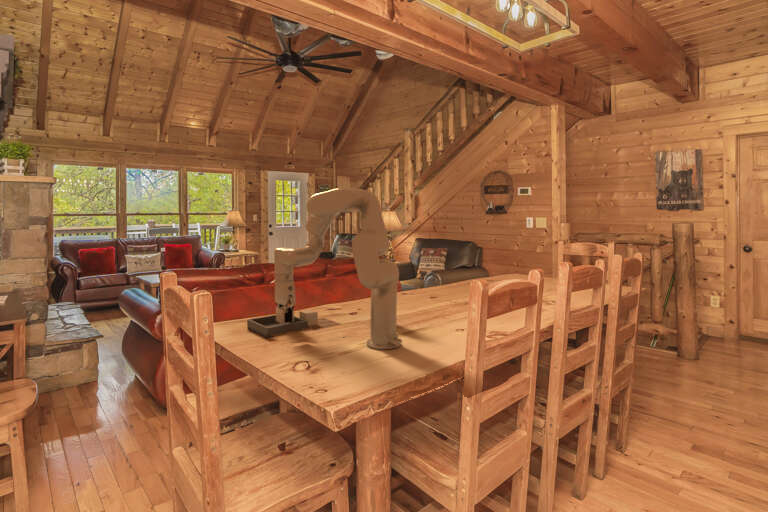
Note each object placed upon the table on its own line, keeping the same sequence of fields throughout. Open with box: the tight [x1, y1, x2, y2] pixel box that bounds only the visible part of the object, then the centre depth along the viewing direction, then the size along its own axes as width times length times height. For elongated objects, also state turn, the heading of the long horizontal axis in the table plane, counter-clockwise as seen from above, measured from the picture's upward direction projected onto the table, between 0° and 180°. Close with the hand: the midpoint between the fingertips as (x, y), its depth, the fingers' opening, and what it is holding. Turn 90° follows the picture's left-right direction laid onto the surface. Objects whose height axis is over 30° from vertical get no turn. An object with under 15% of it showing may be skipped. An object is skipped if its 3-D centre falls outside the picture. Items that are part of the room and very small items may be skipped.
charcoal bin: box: [246, 314, 309, 339], centre depth 185 cm, size 18×18×4 cm
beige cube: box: [299, 309, 319, 326], centre depth 190 cm, size 6×6×6 cm
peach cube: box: [275, 306, 295, 323], centre depth 187 cm, size 6×6×6 cm
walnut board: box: [307, 317, 342, 331], centre depth 192 cm, size 14×14×1 cm
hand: (284, 319), depth 187 cm, fingers closed on peach cube, 5 cm apart
